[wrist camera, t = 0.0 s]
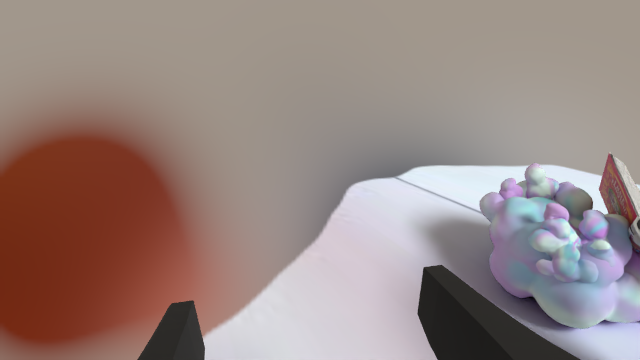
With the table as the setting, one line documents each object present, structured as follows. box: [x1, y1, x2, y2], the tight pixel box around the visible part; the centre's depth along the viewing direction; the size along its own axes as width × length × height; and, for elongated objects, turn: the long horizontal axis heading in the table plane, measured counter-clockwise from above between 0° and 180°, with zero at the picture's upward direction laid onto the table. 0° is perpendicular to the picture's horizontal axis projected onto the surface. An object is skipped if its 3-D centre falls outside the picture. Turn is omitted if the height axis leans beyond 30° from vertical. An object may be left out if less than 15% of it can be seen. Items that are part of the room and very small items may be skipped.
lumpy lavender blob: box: [480, 152, 640, 329], centre depth 41 cm, size 20×22×18 cm
